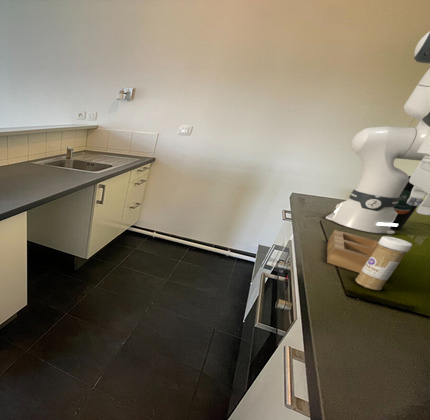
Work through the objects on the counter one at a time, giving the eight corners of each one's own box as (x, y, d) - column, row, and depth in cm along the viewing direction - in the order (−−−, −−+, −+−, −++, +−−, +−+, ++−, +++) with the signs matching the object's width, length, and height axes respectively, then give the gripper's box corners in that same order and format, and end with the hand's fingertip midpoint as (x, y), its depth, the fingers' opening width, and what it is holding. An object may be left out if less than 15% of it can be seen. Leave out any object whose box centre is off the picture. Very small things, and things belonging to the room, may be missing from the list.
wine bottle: (406, 230, 99) (462, 157, 88) (385, 227, 100) (437, 154, 89) (387, 223, 106) (436, 154, 95) (367, 220, 107) (413, 151, 96)
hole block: (327, 242, 86) (334, 229, 84) (376, 255, 79) (384, 242, 77) (326, 262, 73) (334, 248, 71) (384, 280, 66) (395, 265, 64)
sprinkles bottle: (349, 279, 66) (376, 234, 61) (366, 280, 66) (395, 236, 60) (368, 290, 61) (399, 244, 56) (387, 291, 61) (419, 245, 56)
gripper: (419, 144, 60) (387, 197, 65) (445, 148, 47) (403, 214, 52) (465, 147, 56) (428, 204, 61) (508, 152, 42) (456, 224, 47)
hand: (417, 209), depth 56 cm, fingers open, 8 cm apart
